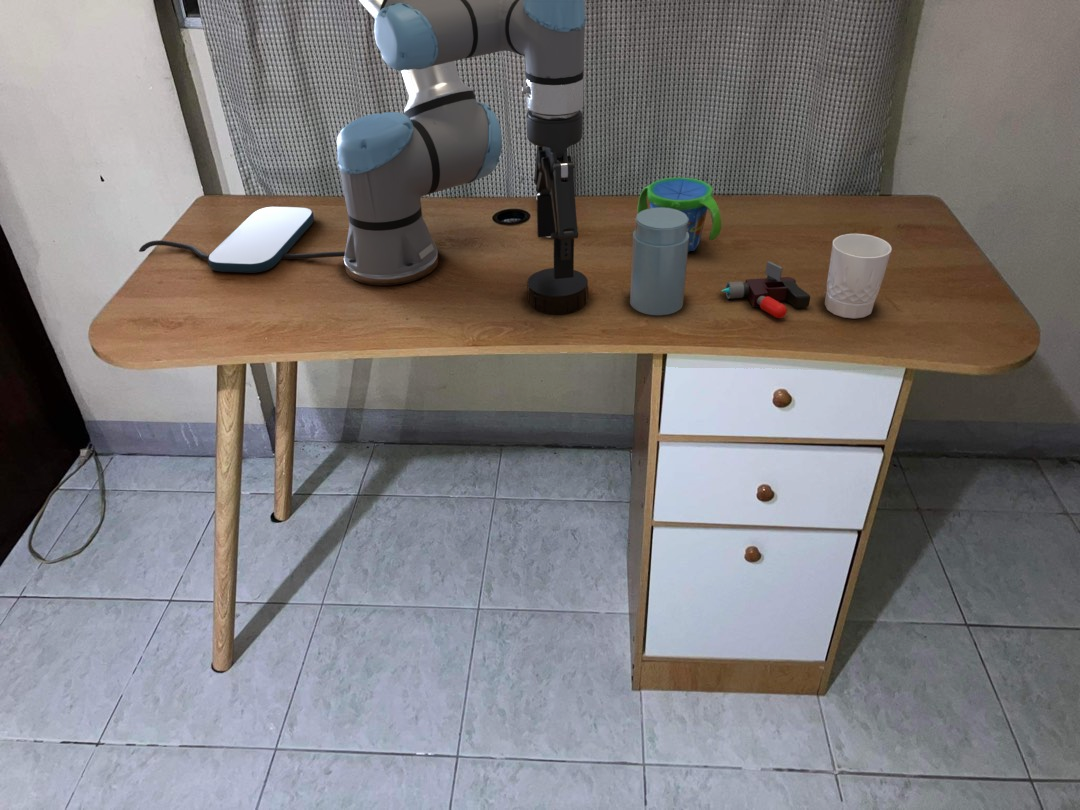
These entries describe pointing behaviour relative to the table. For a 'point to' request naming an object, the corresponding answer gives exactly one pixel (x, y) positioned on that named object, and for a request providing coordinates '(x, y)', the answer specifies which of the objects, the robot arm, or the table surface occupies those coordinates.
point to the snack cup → (684, 204)
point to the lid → (557, 292)
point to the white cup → (855, 274)
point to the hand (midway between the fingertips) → (554, 255)
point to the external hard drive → (261, 240)
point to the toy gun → (770, 291)
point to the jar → (659, 261)
